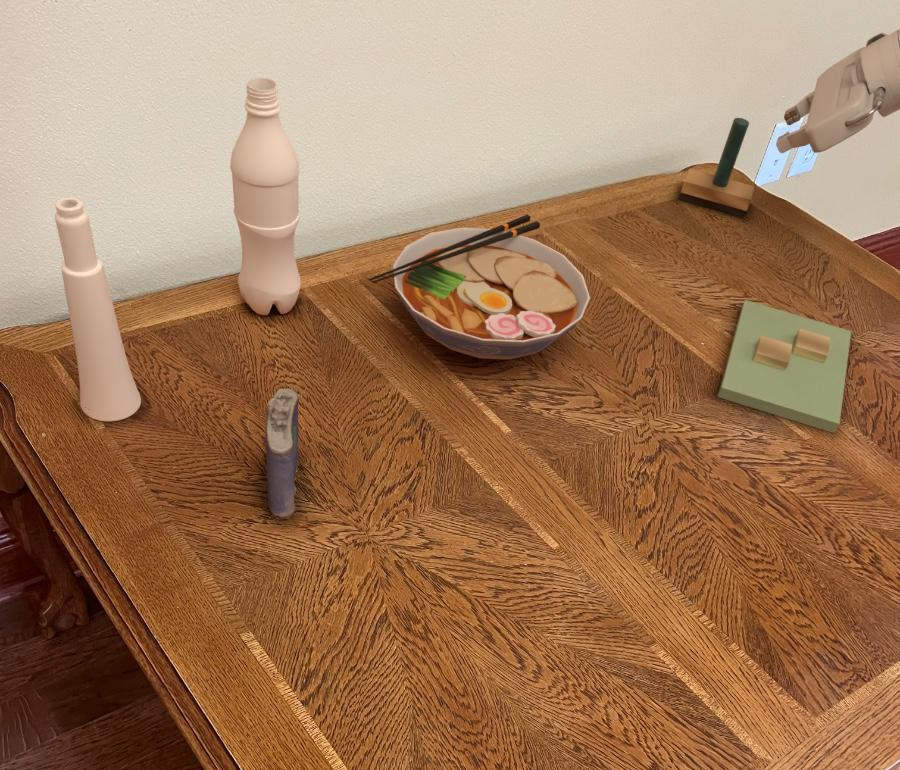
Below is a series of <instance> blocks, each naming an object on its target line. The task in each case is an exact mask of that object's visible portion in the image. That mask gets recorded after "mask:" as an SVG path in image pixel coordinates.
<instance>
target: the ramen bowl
mask: <svg viewBox="0 0 900 770" xmlns="http://www.w3.org/2000/svg"><path fill="white" fill-rule="evenodd" d="M531 218H532V216H531V215H529V214H525V215H522V216H520V217H517V218H515V219H512V220H510V221H507V222H505V223H504V224H500V225H498V226H495V227H492V228H482V227H457V228H451V229H445V230H438V231H433V232H429V233H428V234H425V235H424V236H422V237H420V238H417V239H416V240H414V241H413V242H411V243H408V244H407V245H405V247H404V248H403V250H402V251H401V253H400V254H399V255H398V257H397V258H396V259H395V261H394V263H393V264H392V268H393V269H390V270H388V271H386V272H383V273H381V274H378V275H376V276H373V277H371V278H369V281H371V282H372V284H374V283H377V282H381V281H384V280H386V279H390V278H394V288H395V290H396V293H397V295H398V298H399V300H400V301H401V302H402V304H403V306H404V307H405V309H406V310H407V311H408V312H409V315H411V317H412V318H413V319H414V320H415V322H416V324H417V325H418V326H419V327H420V329H421V330H422V331H423V332H424V333H425V334H426V335H427V336H428V337H429V338H431V339H432V340H434V341H436V342H438V343H439V344H441V345H442V346H444V347H446V348H447V349H449V350H451V351H454V352H457V353H461V354H464V355H467V356H470V357H474V358H477V359H488V360H489V359H491V360H513V359H517V358H522V357H526V356H531V355H535V354H537V353H539V352H541V351H543V350H545V349H546V348H547V347H549V346H551V345H552V344H553V343H554V342H556V341H557V340H559V339H561V337H563V336H564V335H566V334H567V333H568V332H569V331H572V330H573V329H574V327H575V326H576V325H577V324H579V322H580V321H581V320H582V319H583V316H584V314H585V312H586V309H587V306H588V304H589V302H590V300H591V295H590V292H589V290H588V289H589V288H588V287H587V286H588V285H587V283H586V280H585V277H584V275H583V273H581V271H580V270H579V269H577V267H576V266H575V265H574V264H573V263H572V262H571V261H570V260H569V259H568V258H567V256H565V254H562V253H561V252H559V251H557V250H555V249H553V248H551V247H549V246H548V245H546V244H544V243H542V242H541V241H539V240H537V239H535V238H531V237H527V236H524V235H523V234H526V233H529V232H532V231H536V230H539V229H540V227H541V222H539V221H537V220H536V221H533V222H531ZM529 222H531V223H529ZM526 223H528V224H526ZM523 224H525V225H523ZM520 225H523V226H520ZM519 226H520V227H519ZM515 227H517V228H515ZM513 228H515V229H513ZM510 229H513V230H510ZM506 230H509V231H506Z"/></svg>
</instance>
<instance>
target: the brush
mask: <svg viewBox="0 0 900 770" xmlns="http://www.w3.org/2000/svg"><path fill="white" fill-rule="evenodd" d="M731 123H732V124H731V127H730V129H729V132H728V135H727V138H726V141H725V144H724V147H723V150H722V153H721V156H720V159H719V162H718V164H717V168H716V170H715V173H714V174H711V173H708V172H705V171H701V170H698V169H694V168H690V167H689V168H688V171H687V173H686V176H685V178H684V181H683V184H682V187H681V190H680V193H679V197H678V200H679V201H683V202H686V203H688V204H693V205H697V206H700V207H703V208H707V209H710V210H714V211H717V212H721V213H725V214H728V215H731V216H735V217H738V218H742V219H745V216H746V214H747V211H748V209H749V206H750V203H751V201H752V198H753V195H754V191H755V188H756V187H755V186H754V185H751V184H747V183H745V182H741V181H737V180H733V179H731V176H732V173H733V170H734V168H735V164H736V161H737V159H738V156H739V154H740V151H741V148H742V145H743V142H744V139H745V136H746V133H747V131H748V128H749V125H750V122H749V120H748V119H746V118H742V117H735V118H734V119H733V121H732V122H731Z"/></svg>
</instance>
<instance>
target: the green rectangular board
mask: <svg viewBox="0 0 900 770" xmlns="http://www.w3.org/2000/svg"><path fill="white" fill-rule="evenodd" d="M799 329H803V330H806V331H809V332H813V333H816V334H819V335H823V336H826V337H830V345H829V352H828V356H827V358H826V360H825V362H824V363H822V362H819V361H816V360H812V359H809V358H806V357H802V356H799V355H796V354H793V353H792V352H793V346H794V341H795V336H796V334H797V332H798V330H799ZM760 336H765V337H768V338H771V339H775V340H778V341H781V342H785V343H788V344H791V345H792V350H791V355H790V360H789V364H788V366H787V368H786V370H781V369H778V368H775V367H771V366H768V365H765V364H762V363H758V362H755V361H753V358H754V354H755V350H756V346H757V342H758V340H759V338H760ZM851 337H852V331H851V330H849V329H846V328H843V327H839V326H836V325H832V324H829V323H825V322H823V321H818V320H815V319H812V318H808V317H806V316H803V315H799V314H795V313H792V312H789V311H784V310H782V309H779V308H775V307H772V306H768V305H764V304H761V303H758V302H754V301H751V300H748V299H744V300H743V303H742V305H741V307H740V312H739V314H738V319H737V322H736V325H735V330H734V333H733V336H732V341H731V344H730V349H729V352H728V356H727V358H726V359H727V360H726V363H725V367H724V371H723V374H722V377H721V382H720V385H719V388H718V393H717V398H720V399H722V400H726V401H729V402H731V403H736V404H739V405H741V406H745V407H748V408H752V409H754V410H758V411H761V412H763V413H767V414H771V415H774V416H777V417H781V418H784V419H785V420H786V419H787V420H791V421H793V422H795V423H800V424H803V425H806V426H809V427H813V428H816V429H819V430H822V431H825V432H828V433H831V434H835V433H836V431H837V430H838V427H839V425H841V418H842V417H841V415H842V407H843V399H844V392H845V384H846V376H847V368H848V360H849V353H850V345H851Z"/></svg>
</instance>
